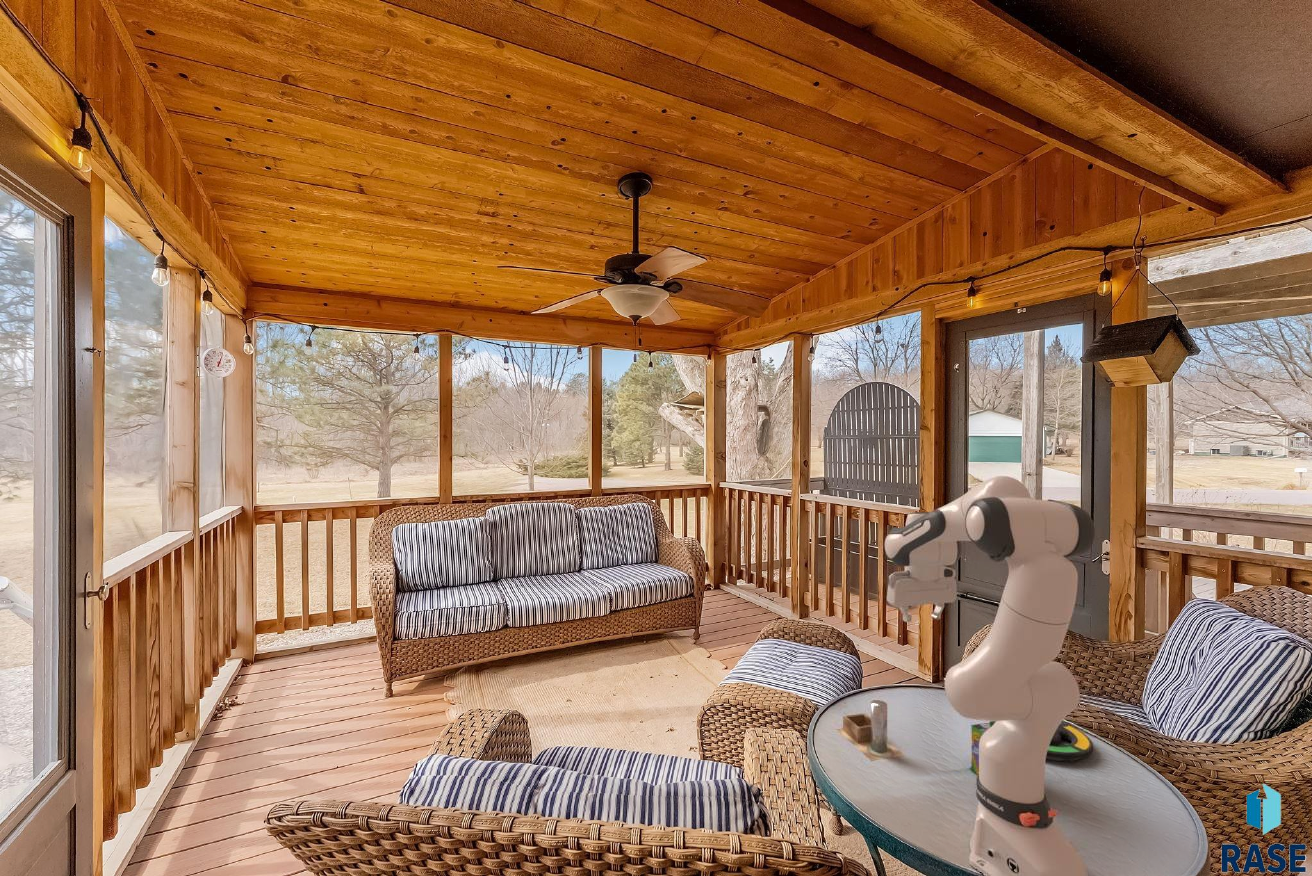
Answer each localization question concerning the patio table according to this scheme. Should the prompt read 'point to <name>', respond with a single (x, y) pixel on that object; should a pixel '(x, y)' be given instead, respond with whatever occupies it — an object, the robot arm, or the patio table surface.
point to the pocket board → (864, 736)
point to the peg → (879, 726)
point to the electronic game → (1073, 751)
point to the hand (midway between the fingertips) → (921, 619)
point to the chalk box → (976, 735)
